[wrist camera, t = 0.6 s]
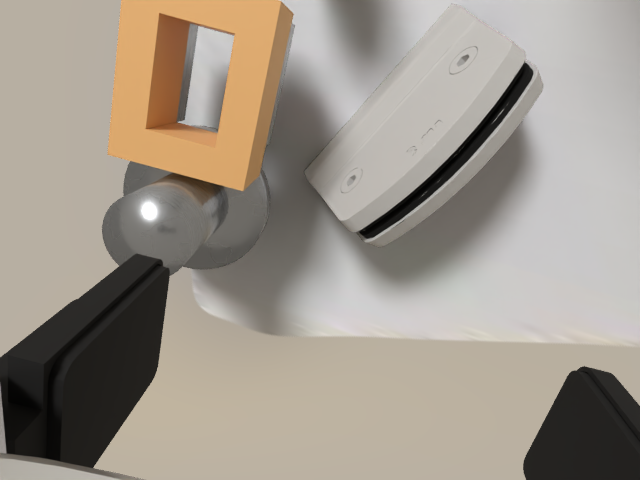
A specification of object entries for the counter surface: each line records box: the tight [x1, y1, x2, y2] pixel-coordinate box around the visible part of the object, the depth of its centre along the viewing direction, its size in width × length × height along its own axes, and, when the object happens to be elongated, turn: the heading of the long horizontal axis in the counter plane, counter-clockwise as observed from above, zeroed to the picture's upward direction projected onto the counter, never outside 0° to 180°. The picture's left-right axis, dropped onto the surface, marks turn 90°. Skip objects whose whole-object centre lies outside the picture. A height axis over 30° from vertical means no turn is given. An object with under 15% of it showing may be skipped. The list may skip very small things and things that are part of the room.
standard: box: [102, 23, 295, 275], centre depth 29 cm, size 18×10×14 cm, turn 166°
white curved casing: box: [304, 4, 543, 247], centre depth 31 cm, size 17×5×10 cm, turn 139°
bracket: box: [108, 0, 293, 191], centre depth 26 cm, size 13×8×4 cm, turn 166°
